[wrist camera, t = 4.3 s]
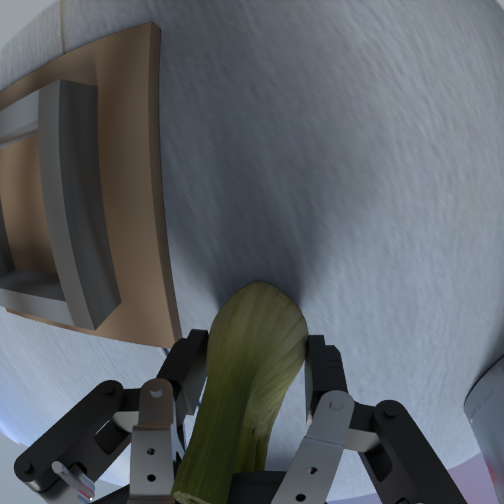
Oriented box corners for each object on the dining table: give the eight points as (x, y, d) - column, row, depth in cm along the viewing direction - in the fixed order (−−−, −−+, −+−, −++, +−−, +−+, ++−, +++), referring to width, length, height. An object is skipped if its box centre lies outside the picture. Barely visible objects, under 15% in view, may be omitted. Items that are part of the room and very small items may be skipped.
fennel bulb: (236, 255, 14) (136, 492, 3) (325, 287, 15) (366, 525, 3) (208, 338, 17) (138, 523, 5) (284, 362, 17) (270, 552, 5)
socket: (160, 29, 10) (121, -1, 7) (182, 337, 17) (158, 384, 13) (-16, 111, 13) (-51, 115, 9) (14, 305, 19) (-14, 327, 15)
